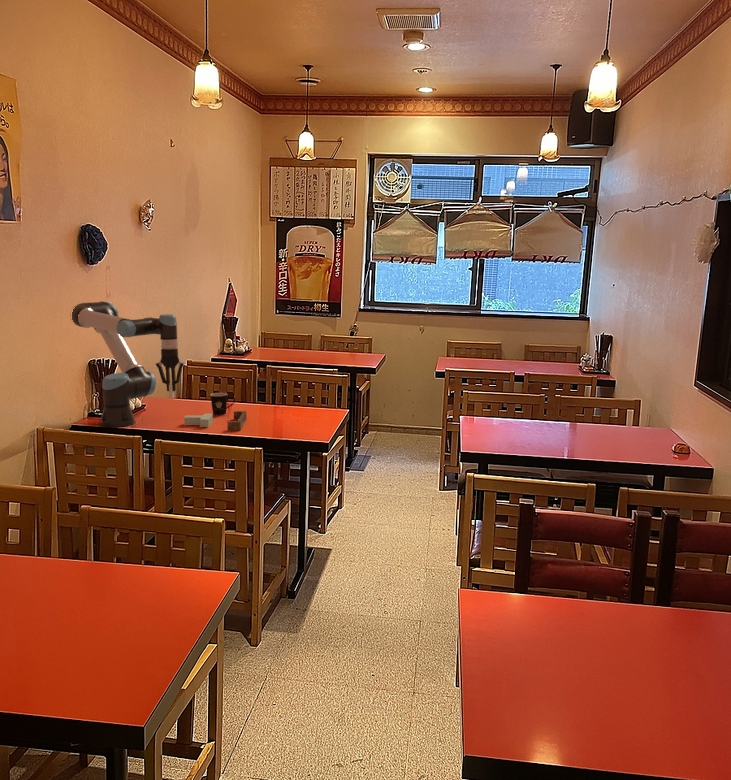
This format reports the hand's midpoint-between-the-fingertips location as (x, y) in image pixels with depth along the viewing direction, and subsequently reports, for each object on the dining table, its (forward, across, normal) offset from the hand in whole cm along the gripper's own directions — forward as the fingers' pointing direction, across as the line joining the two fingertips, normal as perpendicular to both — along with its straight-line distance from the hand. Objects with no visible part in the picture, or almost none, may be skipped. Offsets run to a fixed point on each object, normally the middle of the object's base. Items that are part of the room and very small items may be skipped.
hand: (171, 397), depth 327 cm
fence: (+13, +30, 0) cm, 33 cm away
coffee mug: (+13, +20, +22) cm, 32 cm away
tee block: (+13, +12, 0) cm, 18 cm away
